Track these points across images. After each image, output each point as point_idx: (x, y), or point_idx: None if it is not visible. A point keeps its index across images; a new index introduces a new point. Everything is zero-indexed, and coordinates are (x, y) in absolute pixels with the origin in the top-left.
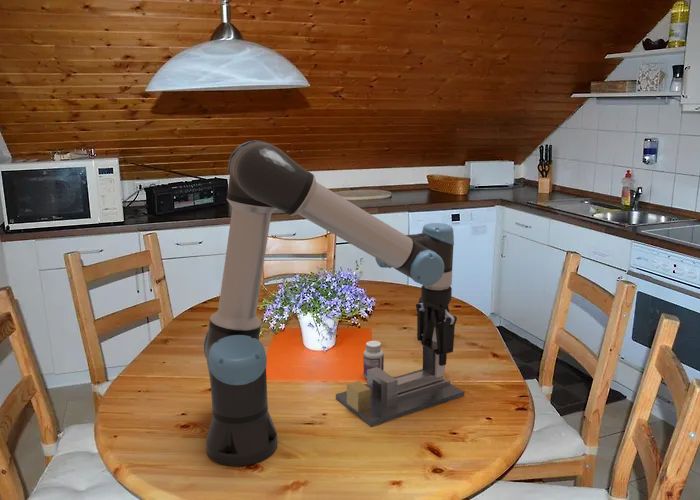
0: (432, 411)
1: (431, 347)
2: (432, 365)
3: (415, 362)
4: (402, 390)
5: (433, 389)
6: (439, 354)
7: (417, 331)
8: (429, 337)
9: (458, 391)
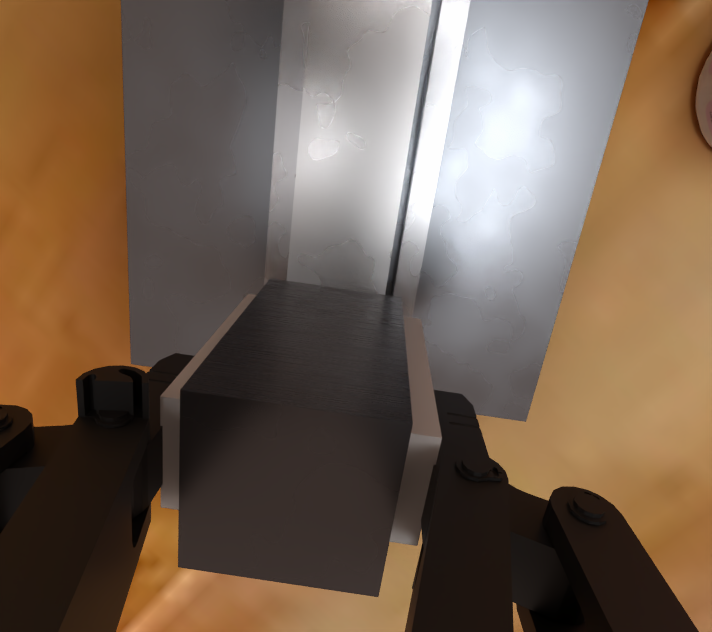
0: (85, 39)
1: (261, 434)
2: (247, 307)
3: (657, 466)
4: None
5: (262, 239)
6: (163, 415)
7: (677, 610)
8: (414, 594)
9: (150, 340)
